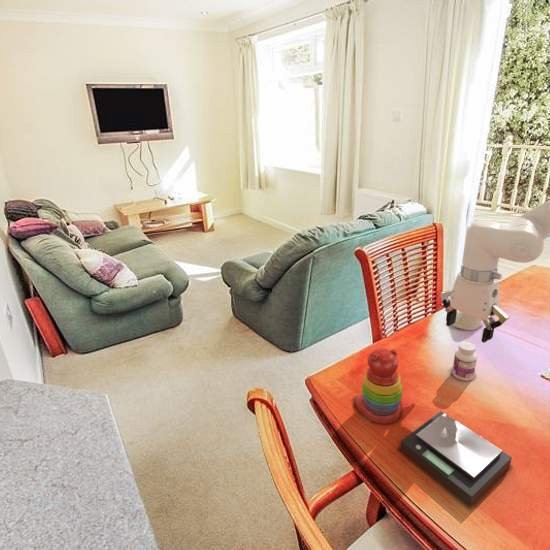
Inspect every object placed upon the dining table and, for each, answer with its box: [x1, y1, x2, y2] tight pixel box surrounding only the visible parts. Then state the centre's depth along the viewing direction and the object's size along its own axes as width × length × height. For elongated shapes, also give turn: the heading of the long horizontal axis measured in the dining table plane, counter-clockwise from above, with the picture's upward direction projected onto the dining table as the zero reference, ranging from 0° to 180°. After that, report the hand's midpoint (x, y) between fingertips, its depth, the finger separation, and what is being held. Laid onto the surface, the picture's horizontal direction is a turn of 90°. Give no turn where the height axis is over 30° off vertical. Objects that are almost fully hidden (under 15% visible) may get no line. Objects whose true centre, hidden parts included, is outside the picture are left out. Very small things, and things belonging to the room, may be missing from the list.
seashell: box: [452, 310, 483, 331], centre depth 123 cm, size 8×8×8 cm
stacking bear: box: [354, 347, 403, 425], centre depth 90 cm, size 11×10×18 cm
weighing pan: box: [416, 412, 503, 480], centre depth 78 cm, size 13×10×1 cm
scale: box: [399, 410, 513, 508], centre depth 79 cm, size 16×14×3 cm
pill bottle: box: [452, 341, 478, 381], centre depth 101 cm, size 5×5×10 cm
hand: (467, 332), depth 97 cm, fingers open, 9 cm apart
